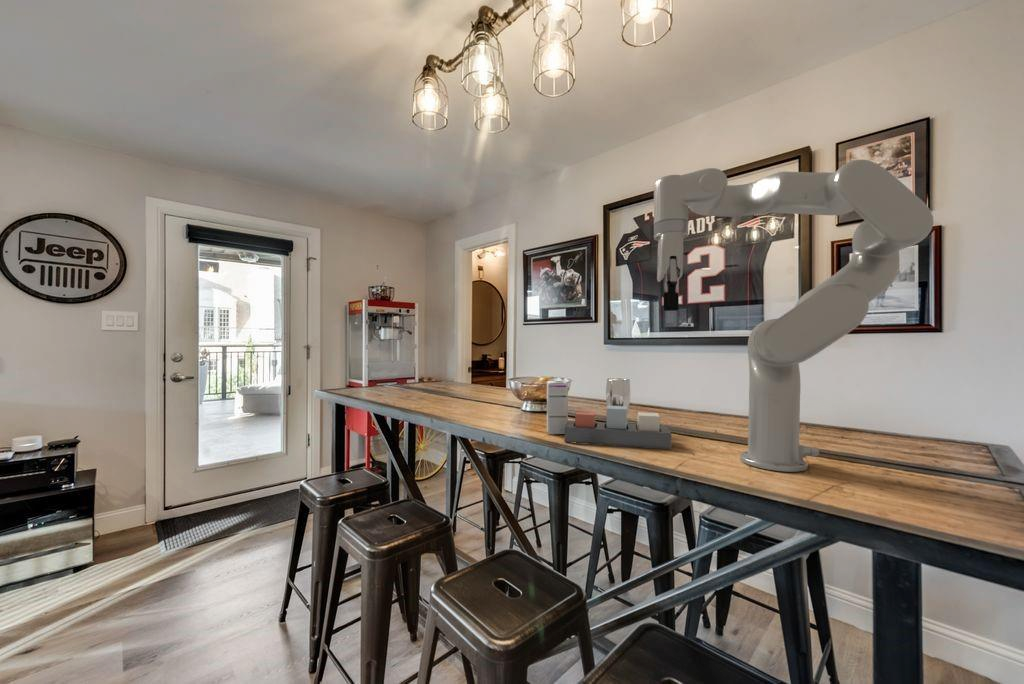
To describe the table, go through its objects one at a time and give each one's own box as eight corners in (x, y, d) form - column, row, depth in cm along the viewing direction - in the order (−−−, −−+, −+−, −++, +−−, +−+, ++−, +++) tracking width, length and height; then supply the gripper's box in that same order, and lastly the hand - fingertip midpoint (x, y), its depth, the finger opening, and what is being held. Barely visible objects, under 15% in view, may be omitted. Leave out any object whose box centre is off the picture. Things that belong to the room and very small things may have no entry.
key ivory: (637, 431, 113) (637, 412, 113) (657, 432, 112) (657, 413, 112) (638, 435, 108) (638, 415, 108) (659, 436, 107) (659, 416, 107)
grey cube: (606, 424, 115) (606, 405, 115) (625, 425, 113) (626, 406, 113) (606, 427, 110) (606, 408, 110) (626, 429, 109) (626, 409, 108)
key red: (576, 429, 116) (576, 410, 116) (595, 430, 115) (595, 411, 115) (575, 433, 112) (575, 414, 111) (594, 434, 110) (594, 415, 110)
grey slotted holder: (567, 434, 119) (568, 420, 119) (666, 441, 113) (666, 426, 113) (564, 442, 110) (564, 427, 110) (671, 449, 104) (671, 433, 104)
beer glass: (632, 433, 122) (633, 380, 122) (608, 432, 122) (608, 380, 122) (626, 427, 129) (627, 378, 129) (603, 427, 129) (604, 378, 129)
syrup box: (568, 434, 119) (569, 382, 119) (547, 434, 119) (547, 382, 119) (566, 430, 125) (566, 380, 124) (545, 430, 125) (546, 380, 125)
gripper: (651, 239, 108) (651, 312, 108) (656, 224, 93) (656, 308, 93) (683, 237, 106) (683, 312, 106) (693, 221, 91) (693, 307, 91)
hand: (670, 310), depth 100 cm, fingers closed
